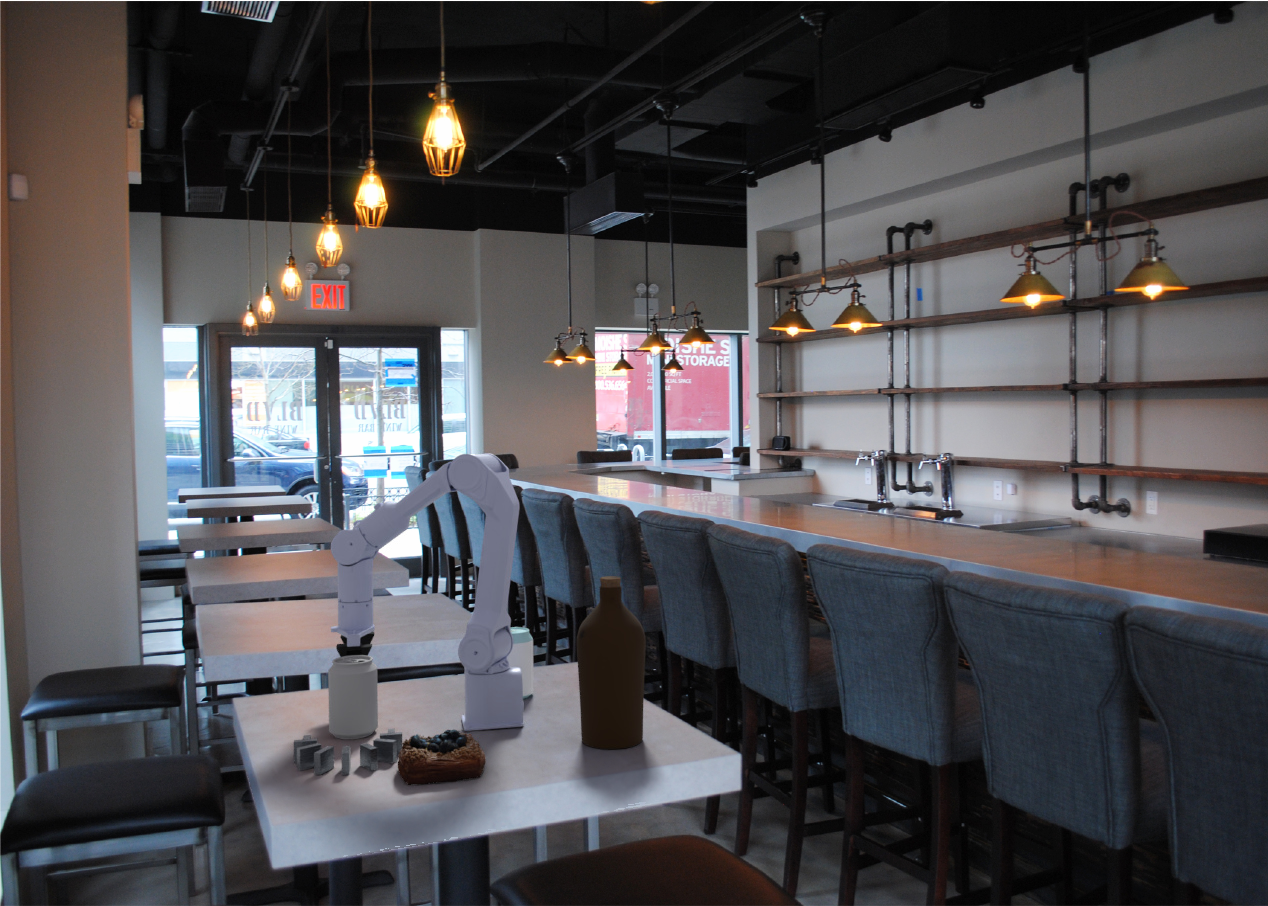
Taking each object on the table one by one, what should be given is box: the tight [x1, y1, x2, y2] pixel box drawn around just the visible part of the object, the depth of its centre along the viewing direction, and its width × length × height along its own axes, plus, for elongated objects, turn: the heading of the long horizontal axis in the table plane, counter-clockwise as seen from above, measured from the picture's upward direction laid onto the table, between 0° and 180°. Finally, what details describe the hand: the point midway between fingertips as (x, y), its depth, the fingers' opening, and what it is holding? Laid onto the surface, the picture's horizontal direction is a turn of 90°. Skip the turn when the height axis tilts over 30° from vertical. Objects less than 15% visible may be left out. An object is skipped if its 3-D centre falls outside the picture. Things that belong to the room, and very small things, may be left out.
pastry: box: [397, 729, 487, 786], centre depth 134 cm, size 11×12×6 cm
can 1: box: [327, 655, 379, 740], centre depth 152 cm, size 8×8×12 cm
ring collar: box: [293, 728, 403, 776], centre depth 138 cm, size 15×10×3 cm
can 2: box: [507, 626, 535, 700], centre depth 173 cm, size 7×7×12 cm
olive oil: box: [576, 575, 647, 750], centre depth 147 cm, size 11×11×25 cm
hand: (356, 680), depth 161 cm, fingers open, 7 cm apart
